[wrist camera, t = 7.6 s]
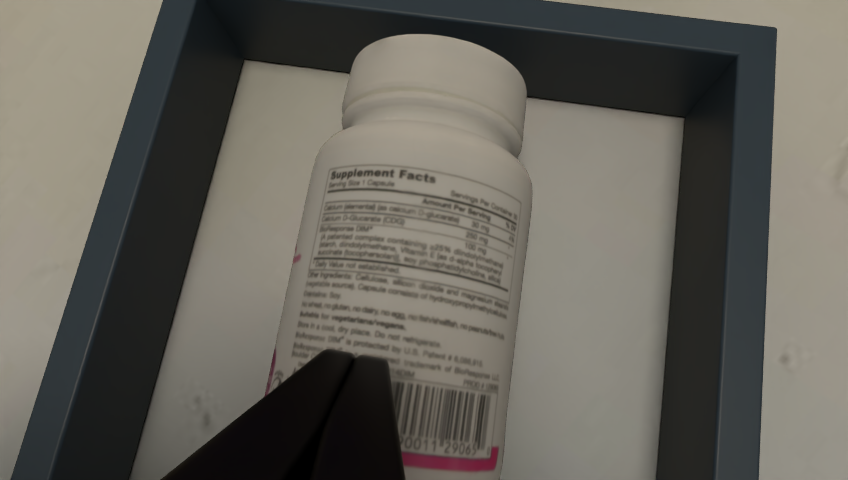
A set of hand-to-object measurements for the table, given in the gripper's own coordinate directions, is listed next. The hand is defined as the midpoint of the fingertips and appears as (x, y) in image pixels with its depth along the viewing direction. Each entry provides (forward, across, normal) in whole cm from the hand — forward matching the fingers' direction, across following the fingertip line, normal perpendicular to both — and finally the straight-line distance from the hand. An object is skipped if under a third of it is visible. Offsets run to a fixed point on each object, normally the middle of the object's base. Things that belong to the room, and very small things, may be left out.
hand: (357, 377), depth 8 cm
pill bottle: (+2, 0, +4) cm, 5 cm away
